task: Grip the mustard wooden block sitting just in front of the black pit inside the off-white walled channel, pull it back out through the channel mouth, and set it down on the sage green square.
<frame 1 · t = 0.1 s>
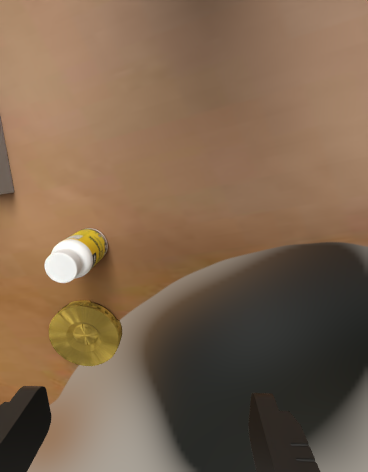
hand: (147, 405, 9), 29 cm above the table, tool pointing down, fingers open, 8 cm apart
gold flat disc: (89, 328, 44), on the table
supplement bottle: (92, 243, 39), on the table
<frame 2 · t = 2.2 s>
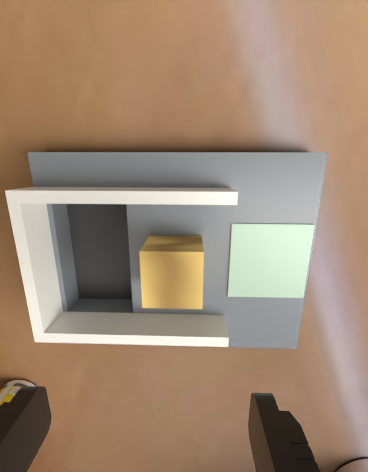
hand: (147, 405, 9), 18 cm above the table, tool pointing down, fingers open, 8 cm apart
walled pit deck: (177, 250, 27), on the table
mustard block: (175, 260, 24), point 3 cm above the table, touching walled pit deck
supplement bottle: (24, 392, 33), on the table
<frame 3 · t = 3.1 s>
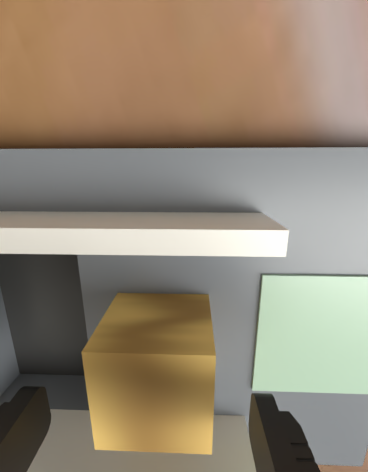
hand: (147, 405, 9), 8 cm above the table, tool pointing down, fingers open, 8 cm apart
walled pit deck: (168, 304, 17), on the table
mustard block: (163, 332, 14), point 3 cm above the table, touching walled pit deck
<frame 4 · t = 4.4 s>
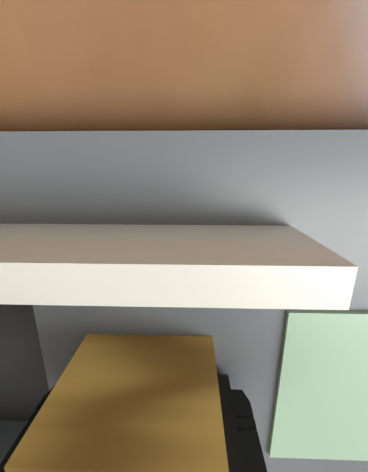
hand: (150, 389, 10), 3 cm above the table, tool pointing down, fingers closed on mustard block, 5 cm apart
walled pit deck: (160, 337, 13), on the table
mustard block: (151, 385, 10), point 3 cm above the table, touching gripper, walled pit deck
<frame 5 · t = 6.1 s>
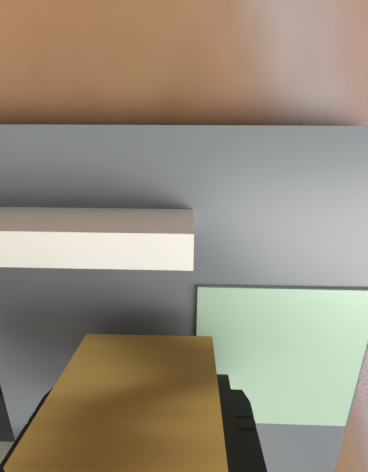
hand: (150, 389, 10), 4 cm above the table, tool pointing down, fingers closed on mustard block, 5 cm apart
walled pit deck: (105, 316, 14), on the table
mustard block: (151, 384, 10), point 4 cm above the table, touching gripper
when the fingers open (4 cm above the table, at t = 7.9 s): mustard block stays where it is, resting on walled pit deck.
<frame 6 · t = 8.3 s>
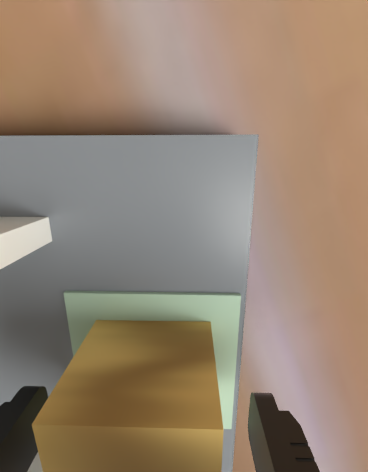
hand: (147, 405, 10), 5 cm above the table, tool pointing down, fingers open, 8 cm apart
walled pit deck: (12, 320, 15), on the table
mustard block: (155, 367, 11), point 3 cm above the table, touching walled pit deck
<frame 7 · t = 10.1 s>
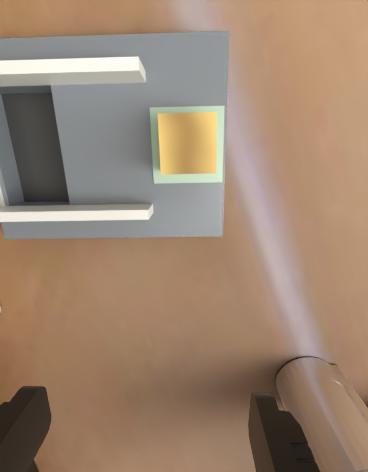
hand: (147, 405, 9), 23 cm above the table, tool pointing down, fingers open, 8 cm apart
walled pit deck: (111, 149, 29), on the table
mustard block: (187, 146, 26), point 3 cm above the table, touching walled pit deck
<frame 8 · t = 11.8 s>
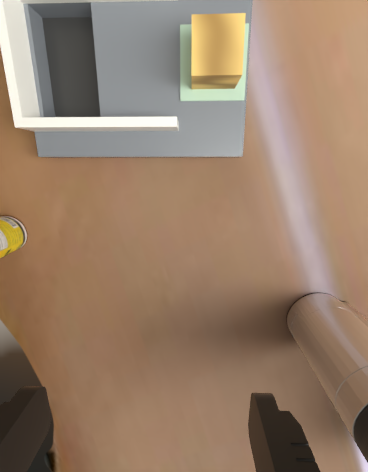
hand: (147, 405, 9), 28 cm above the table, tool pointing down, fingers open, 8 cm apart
walled pit deck: (140, 74, 31), on the table
mustard block: (213, 64, 28), point 3 cm above the table, touching walled pit deck
supplement bottle: (12, 232, 38), on the table
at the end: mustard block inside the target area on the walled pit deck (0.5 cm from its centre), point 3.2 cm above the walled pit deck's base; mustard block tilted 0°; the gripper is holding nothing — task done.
